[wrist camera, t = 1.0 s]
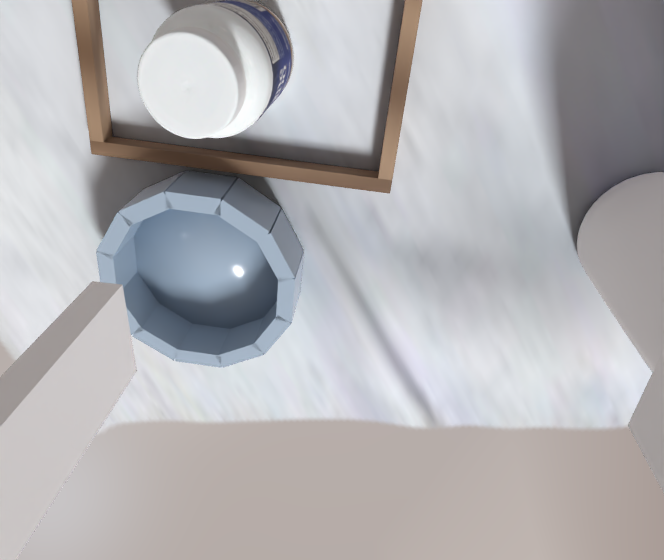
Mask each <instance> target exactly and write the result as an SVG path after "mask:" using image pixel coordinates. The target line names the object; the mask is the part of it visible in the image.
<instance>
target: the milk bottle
mask: <svg viewBox="0 0 664 560" xmlns="http://www.w3.org/2000/svg"><path fill="white" fill-rule="evenodd" d="M577 252H578V257H579V260H580V263H581V265H582V267H583V268H584V270H585V272H586V274H587V275H588V277H589V278H590V280H591V282H592V283H593V285H594V286H595V288H596V289H597V291H598V292H599V294H600V295H601V297H602V298H603V300H604V301H605V303H606V305H607V306H608V308H609V309H610V311H611V312H612V314H613V315H614V317H615V318H616V320H617V321H618V323H619V324H620V326H621V327H622V329H623V330H624V332H625V333H626V335H627V336H628V338H629V339H630V341H631V342H632V344H633V345H634V347H635V348H636V350H637V351H638V353H639V354H640V355H641V357H642V358H643V360H644V361H645V363H646V364H647V366H648V367H649V368H650V370H651V371H652V372H653V371H654V369H655V367H656V365H657V363H658V360H659V358H660V356H661V354H662V352H663V350H664V172H654V173H647V174H642V175H638V176H635V177H633V178H630V179H627V180H624V181H622V182H621V183H619V184H617V185H615V186H613V187H612V188H610V189H609V190H608V191H607V192H605V193H604V194H602V195H601V196H600V197H599V198H598V200H597V201H596V202H595V203H594V204H593V205H592V206H591V207H590V209H589V211H588V212H587V213H586V215H585V217H584V219H583V222H582V224H581V226H580V229H579V233H578V238H577Z"/></svg>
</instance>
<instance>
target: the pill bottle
mask: <svg viewBox="0 0 664 560" xmlns="http://www.w3.org/2000/svg"><path fill="white" fill-rule="evenodd" d="M293 63H294V52H293V47H292V42H291V39H290V36H289V34H288V32H287V30H286V28H285V26H284V25H283V23H282V22H281V21H280V19H279V18H278V17H277V16H276V15H275V14H274V13H273V12H272V11H271V10H269V9H268V8H266V7H265V6H263V5H261V4H259V3H257V2H254V1H249V0H227V1H220V2H213V3H207V4H200V5H194V6H190V7H186V8H183V9H181V10H179V11H178V12H176V13H174V14H173V15H171V16H170V17H169V18H168V19H166V20H165V21H164V22H163V23H162V25H161V26H160V27H159V28H158V30H157V32H156V33H155V35H154V37H153V39H152V42H151V43H150V44H149V45H148V46H147V48H146V49H145V51H144V52H143V54H142V56H141V58H140V62H139V65H138V73H137V82H138V88H139V92H140V96H141V99H142V101H143V103H144V105H145V107H146V108H147V110H148V112H149V113H150V114H151V116H152V117H153V118H154V119H155V120H156V121H157V122H158V123H159V124H160V125H161V126H162V127H163V128H165V129H166V130H168V131H170V132H171V133H173V134H176V135H178V136H181V137H185V138H191V139H201V138H206V137H209V138H224V137H229V136H233V135H236V134H238V133H240V132H242V131H244V130H246V129H247V128H249V127H250V126H251V125H252V124H254V123H255V122H256V121H257V120H258V119H259V118H260V117H261V116H262V114H263V113H264V112H265V111H266V110H267V109H268V108H269V107H270V105H271V104H272V103H273V102H274V101H275V100H276V99H277V97H278V96H279V95H280V94H281V92H282V91H283V90H284V88H285V86H286V85H287V83H288V81H289V79H290V76H291V73H292V69H293Z"/></svg>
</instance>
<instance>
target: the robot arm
mask: <svg viewBox="0 0 664 560" xmlns="http://www.w3.org/2000/svg"><path fill="white" fill-rule="evenodd" d="M136 371H137V369H136V363H135V357H134V351H133V345H132V339H131V333H130V327H129V321H128V315H127V309H126V303H125V297H124V291H123V285H122V284H112V283H102V282H93V281H92V282H91V283H90V284H89V285H88V287H87V288H86V289H85V290H84V291H83V292H82V293H81V294H80V295H79V296H78V297H77V298H76V299H75V300H74V301H73V302H72V303H71V304H70V305H69V306H68V307H67V308H66V309H65V310H64V311H63V312H62V314H61V315H60V316H59V317H58V318H57V319H56V320H55V321H54V322H53V323H52V324H51V325H50V326H49V327H48V328H47V329H46V330H45V331H44V332H43V333H42V334H41V335H40V336H39V337H38V338H37V339H36V341H35V342H34V343H33V344H32V345H31V346H30V347H29V348H28V349H27V350H26V351H25V352H24V353H23V354H22V355H21V356H20V357H19V358H18V359H17V360H16V361H15V362H14V363H13V364H12V366H10V368H9V369H8V370H7V371H6V372H5V373H4V374H3V375H2V376H1V377H0V560H17V558H18V557H19V555H20V553H21V552H22V550H23V549H24V547H25V546H26V544H27V542H28V541H29V539H30V538H31V536H32V535H33V533H34V531H35V530H36V528H37V527H38V525H39V524H40V522H41V520H42V519H43V517H44V516H45V514H46V513H47V511H48V509H49V507H50V506H51V505H52V503H53V502H54V500H55V498H56V497H57V495H58V494H59V492H60V491H61V489H62V487H63V486H64V484H65V483H66V481H67V480H68V478H69V476H70V475H71V473H72V472H73V470H74V469H75V467H76V465H77V464H78V462H79V461H80V459H81V458H82V456H83V454H84V453H85V451H86V450H87V448H88V447H89V445H90V443H91V442H92V440H93V439H94V437H95V436H96V434H97V432H98V431H99V429H100V428H101V426H102V425H103V423H104V421H105V420H106V418H107V417H108V415H109V414H110V412H111V410H112V409H113V407H114V406H115V404H116V403H117V401H118V399H119V398H120V396H121V395H122V393H123V392H124V390H125V388H126V387H127V385H128V384H129V382H130V381H131V379H132V377H133V376H134V374H135V373H136ZM628 426H629V428H630V430H631V432H632V434H633V436H634V438H635V440H636V442H637V444H638V445H639V447H640V449H641V451H642V453H643V455H644V457H645V459H646V461H647V463H648V465H649V467H650V469H651V470H652V472H653V474H654V476H655V478H656V480H657V482H658V484H659V486H660V488H661V490H662V492H663V493H664V350H663V352H662V354H661V356H660V358H659V360H658V363H657V365H656V367H655V369H654V371H653V373H652V375H651V377H650V379H649V382H648V384H647V386H646V388H645V390H644V392H643V394H642V396H641V398H640V401H639V403H638V405H637V407H636V409H635V411H634V413H633V415H632V417H631V420H630V422H629V424H628Z"/></svg>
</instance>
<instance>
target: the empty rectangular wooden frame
mask: <svg viewBox="0 0 664 560" xmlns="http://www.w3.org/2000/svg"><path fill="white" fill-rule="evenodd" d="M421 6H422V0H405V2H404V9H403V15H402V22H401V28H400V35H399V41H398V48H397V54H396V61H395V67H394V74H393V80H392V87H391V94H390V100H389V107H388V113H387V120H386V126H385V133H384V139H383V146H382V152H381V159H380V165H379V172H377V171H370V170H362V169H355V168H347V167H339V166H332V165H324V164H317V163H309V162H301V161H294V160H286V159H278V158H271V157H263V156H256V155H248V154H240V153H233V152H225V151H217V150H210V149H202V148H195V147H187V146H179V145H172V144H164V143H157V142H149V141H141V140H134V139H126V138H118V137H113V134H112V125H111V115H110V106H109V97H108V88H107V78H106V69H105V60H104V50H103V41H102V32H101V23H100V13H99V4H98V0H72V7H73V14H74V22H75V30H76V37H77V45H78V53H79V60H80V68H81V76H82V83H83V91H84V99H85V107H86V114H87V122H88V130H89V137H90V145H91V153H92V154H95V155H103V156H111V157H118V158H126V159H133V160H141V161H148V162H156V163H163V164H171V165H179V166H186V167H194V168H201V169H209V170H216V171H224V172H231V173H239V174H247V175H254V176H262V177H269V178H277V179H284V180H292V181H299V182H307V183H315V184H322V185H330V186H337V187H345V188H352V189H360V190H367V191H375V192H383V193H390V190H391V184H392V178H393V172H394V166H395V160H396V154H397V148H398V142H399V136H400V130H401V124H402V118H403V112H404V107H405V101H406V95H407V89H408V83H409V77H410V71H411V65H412V59H413V53H414V47H415V41H416V35H417V29H418V23H419V17H420V12H421Z"/></svg>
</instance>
